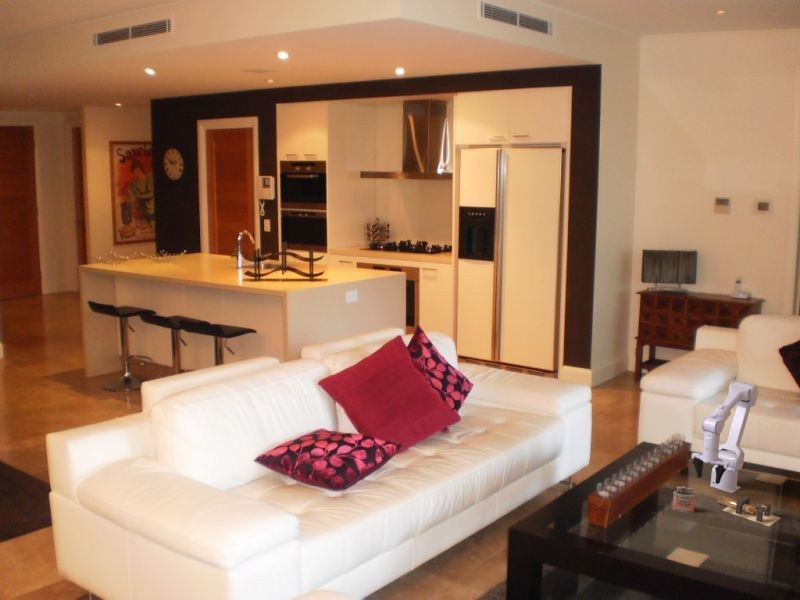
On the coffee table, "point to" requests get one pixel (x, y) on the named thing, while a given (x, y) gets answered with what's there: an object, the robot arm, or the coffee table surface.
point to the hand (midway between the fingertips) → (708, 480)
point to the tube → (732, 504)
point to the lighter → (684, 500)
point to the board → (759, 516)
